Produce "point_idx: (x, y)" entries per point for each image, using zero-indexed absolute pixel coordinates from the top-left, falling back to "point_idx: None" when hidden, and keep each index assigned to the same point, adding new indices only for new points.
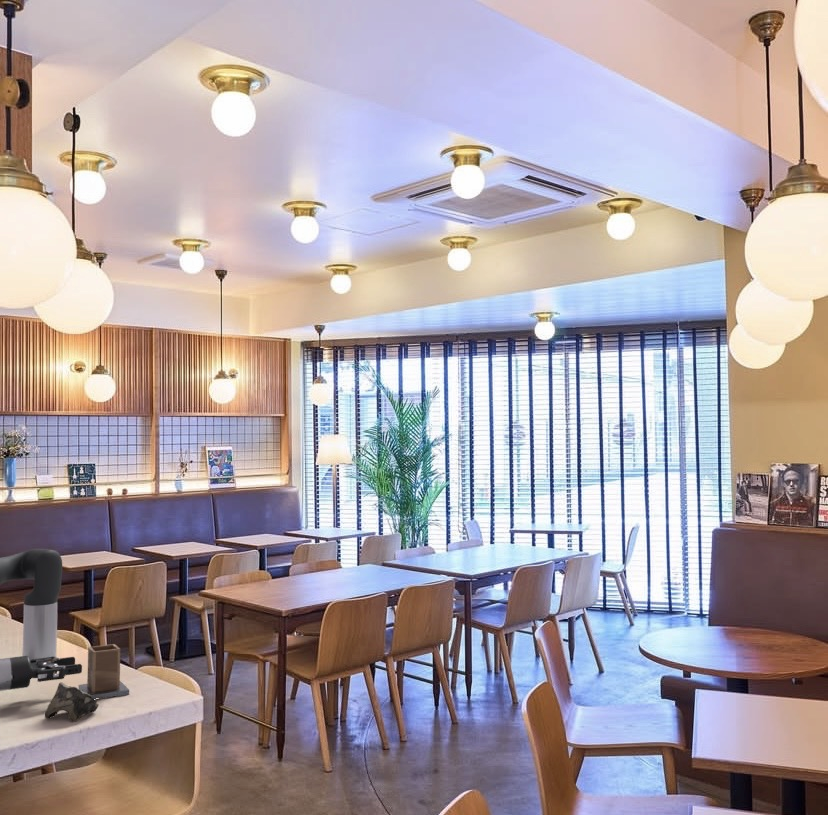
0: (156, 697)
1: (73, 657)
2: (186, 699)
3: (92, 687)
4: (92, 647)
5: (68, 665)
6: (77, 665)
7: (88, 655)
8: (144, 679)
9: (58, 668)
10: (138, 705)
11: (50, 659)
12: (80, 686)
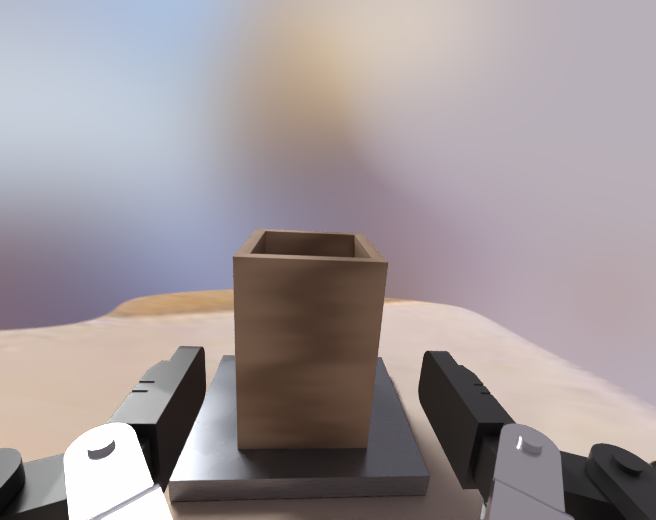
0: (432, 339)
1: (201, 349)
2: (462, 314)
3: (365, 429)
4: (250, 253)
5: (472, 405)
6: (454, 367)
7: (248, 301)
8: (234, 325)
9: (643, 497)
10: (512, 375)
11: (169, 517)
12: (211, 477)
